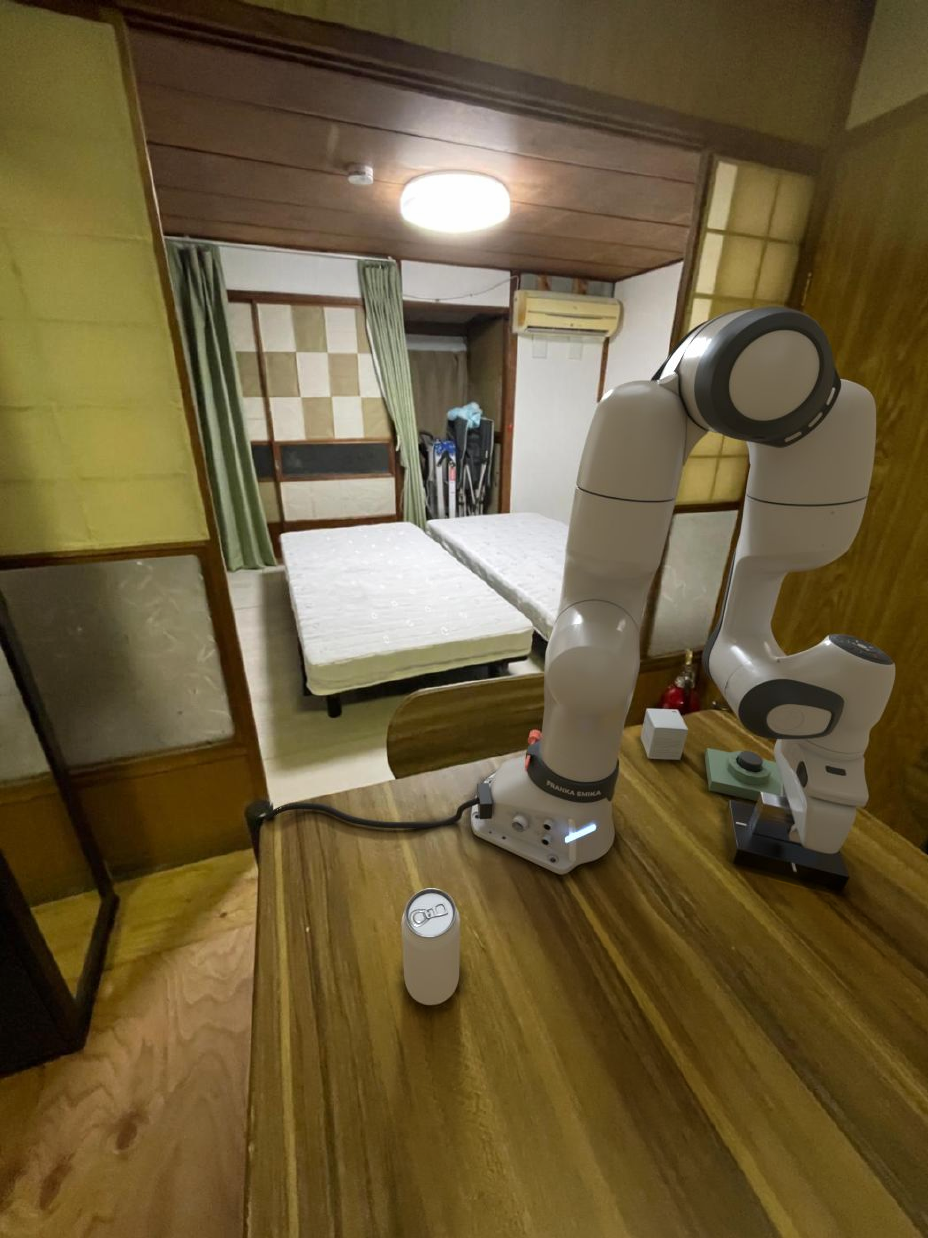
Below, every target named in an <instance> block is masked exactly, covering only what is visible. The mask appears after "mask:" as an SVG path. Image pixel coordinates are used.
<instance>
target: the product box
mask: <svg viewBox="0 0 928 1238" xmlns="http://www.w3.org/2000/svg"><path fill="white" fill-rule="evenodd" d="M645 709H646V710H645V715H644V718H643V724H642V728H641V733H640V740H641V743H642V745H643V747H644V750H645V754H646V757H647V758H648V759H649V760H651V759H653V760H673V761H680V760H681V758H682V755H683V750H684V747H685V743H686V739H687V736H688V731H689V728H688V726H687V724H686V723H685V720H684V718H683V716H682V714H681V712H680V711H679V709H671V708H670V709H669V708H647V707H646V708H645Z"/></svg>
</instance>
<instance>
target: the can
mask: <svg viewBox="0 0 928 1238" xmlns="http://www.w3.org/2000/svg"><path fill="white" fill-rule="evenodd" d="M400 927H401V947H402V949H401V950H402V963H403V964H402V965H403V977H404V978H403V979H404V984H405V988H406V989H407V992H408V993H409V995H410V996H411V998H413V1000H415V1001H416V1002H418V1003H420V1004H422V1005H426V1006H435V1005H440V1004H442V1003H444V1002H445V1001H447V1000H448V999H449V998H450V997H451V996H452V995H453V994H454V993H455V992H456V989H457V987H458V984H459V979H460V964H461V963H460V959H461V957H460V956H461V919H460V913H459V910H458V907H457V906H456V903H455V901H454V899H453V897H451V895H450V894H449V893H447V891H445V890H443V889H439V888H435V887H430V888H424V889H421V890H419V891H418V892H416V893H414V894H413V895H412V896H411V897H410V898H409V899H408V901H407V903H406V905H405V907H404V911H403V914H402V917H401V926H400Z"/></svg>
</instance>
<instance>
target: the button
mask: <svg viewBox="0 0 928 1238" xmlns="http://www.w3.org/2000/svg"><path fill="white" fill-rule="evenodd" d="M741 751H742V752H741V753H740V755H739V758H738V761H737V763H738V765H739V766H740V767H741V768H743V769H745V770H747V771H750V772H759V771H760V769H761V766H762V763H763V759H764V758H763V757H761V755H760V754H758V753H757V752H754V751H750V750H741ZM762 758H763V759H762Z"/></svg>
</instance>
